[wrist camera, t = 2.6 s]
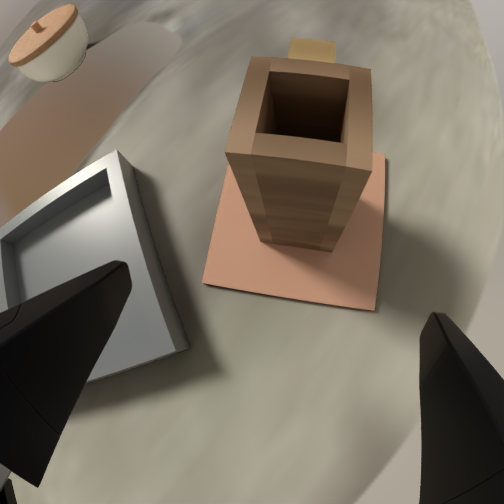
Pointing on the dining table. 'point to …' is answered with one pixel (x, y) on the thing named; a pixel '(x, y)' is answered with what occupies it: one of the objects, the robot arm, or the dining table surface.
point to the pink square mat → (300, 252)
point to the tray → (95, 259)
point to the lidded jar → (52, 46)
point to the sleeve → (302, 144)
